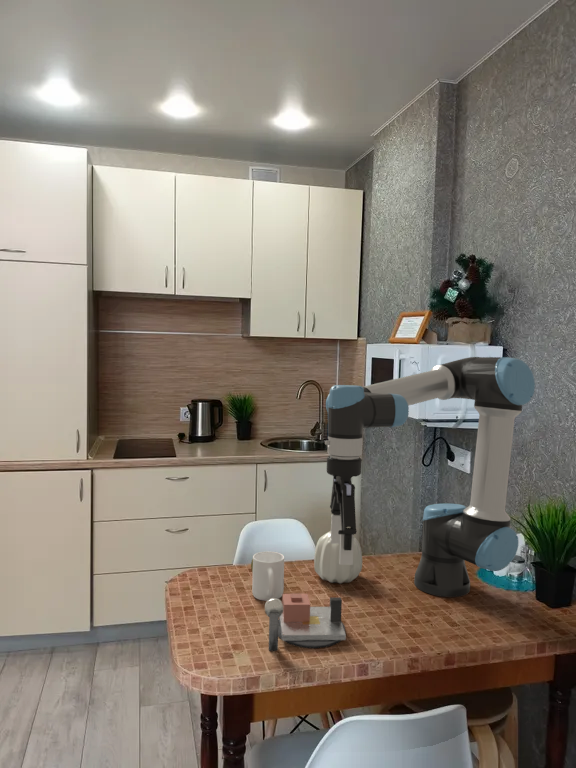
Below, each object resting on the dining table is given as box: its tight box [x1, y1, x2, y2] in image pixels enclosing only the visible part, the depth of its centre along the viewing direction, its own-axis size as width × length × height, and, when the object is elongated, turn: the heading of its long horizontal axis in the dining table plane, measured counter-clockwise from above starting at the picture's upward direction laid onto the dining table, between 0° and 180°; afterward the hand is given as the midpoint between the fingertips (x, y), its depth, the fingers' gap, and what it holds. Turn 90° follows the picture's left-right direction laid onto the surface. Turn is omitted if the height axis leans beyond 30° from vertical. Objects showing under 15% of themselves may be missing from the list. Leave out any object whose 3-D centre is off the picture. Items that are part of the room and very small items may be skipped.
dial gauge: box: [264, 598, 283, 652], centre depth 123 cm, size 4×3×11 cm, turn 94°
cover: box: [281, 593, 311, 622], centre depth 133 cm, size 6×6×5 cm
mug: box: [251, 551, 285, 602], centre depth 149 cm, size 12×8×10 cm
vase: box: [313, 530, 363, 584], centre depth 163 cm, size 14×14×13 cm
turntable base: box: [278, 619, 346, 649], centre depth 132 cm, size 16×16×1 cm
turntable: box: [279, 596, 347, 642], centre depth 131 cm, size 14×14×6 cm
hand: (341, 553), depth 124 cm, fingers open, 12 cm apart
